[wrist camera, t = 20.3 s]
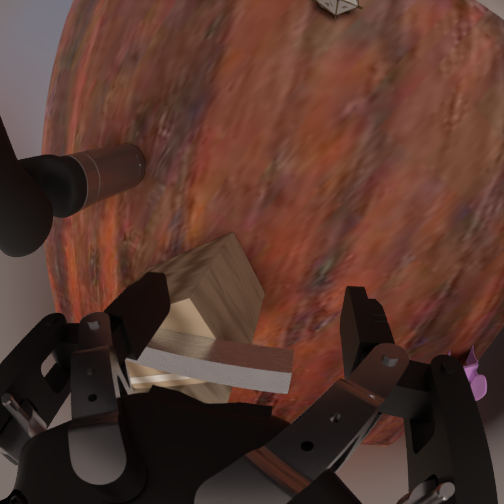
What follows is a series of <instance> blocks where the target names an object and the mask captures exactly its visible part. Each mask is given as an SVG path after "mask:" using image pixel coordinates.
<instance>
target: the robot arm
mask: <svg viewBox="0 0 504 504" xmlns="http://www.w3.org/2000/svg"><path fill="white" fill-rule="evenodd" d="M144 172H145V161H144V157H143V155H142V153H141V151H140V150H139V149H138V148H137V147H135V146H134V145H131V144H121V145H115V146H108V147H103V148H97V149H92V150H87V151H83V152H78V153H74V154H69V155H65V156H61V157H59V156H56V155H49V154H48V155H41V156H35V157H30V158H25V159H20V160H17V158H16V155H15V153H14V150H13V148H12V145H11V143H10V140H9V138H8V135H7V132H6V129H5V127H4V125H3V122H2V119H1V117H0V249H1V251H3V253H5V254H6V255H8V256H12V257H22V256H25V255H28V254H31V253H32V252H34V251H36V250H37V249H38V248H39V247H40V246H41V245H42V244H43V243H44V242H45V240H46V239H47V237H48V235H49V232H50V230H51V227H52V222H53V216H55V217H59V218H64V217H68V216H71V215H73V214H75V213H77V212H79V211H81V210H83V209H85V208H87V207H89V206H91V205H93V204H96V203H98V202H100V201H102V200H104V199H107V198H109V197H111V196H113V195H116V194H118V193H120V192H123V191H125V190H128V189H130V188H133V187H135V186H136V185H138V184H139V183H140V181H141V180H142V178H143V176H144ZM170 307H171V302H170V296H169V291H168V285H167V280H166V276H165V274H164V273H160V272H150V271H149V272H147V273H146V274H145V275H144V276H143V277H142V278H141V279H140V280H139V281H136V282H134V283H133V284H131V285H129V286H128V287H127V288H126V289H125V290H124V291H123V293H121V294H120V295H119V296H118V298H116V299H115V300H114V301H113V302H112V303H111V304H110V305H109V306H108V307H107V308H106V309H105V310H104V312H94V313H90V314H88V315H86V316H85V317H83V318H82V319H81V321H80V323H67V321H66V318H65V316H64V315H63V314H61V313H53V314H49V315H47V316H46V317H44V318H43V319H42V320H41V321H40V322H39V323H38V324H37V325H36V326H35V327H34V328H33V329H32V330H31V331H30V332H29V333H28V334H27V335H26V336H25V337H24V338H23V339H22V340H21V342H20V343H19V344H18V345H17V346H16V347H15V348H14V349H13V350H12V351H11V353H10V354H9V355H8V356H7V357H6V358H5V359H4V360H3V361H2V363H1V364H0V453H1V454H3V455H4V456H5V457H6V458H7V459H8V460H9V461H11V462H12V463H13V464H15V465H18V472H17V478H16V482H15V486H14V489H13V491H12V493H11V494H10V495H9V496H8V497H7V498H5V499H3V500H1V501H0V504H362V503H361V502H360V501H359V500H358V499H357V497H356V496H355V495H354V494H353V493H352V492H351V491H350V490H349V488H348V487H347V486H346V485H345V484H344V483H343V482H342V480H341V479H340V478H339V477H338V476H337V475H336V474H335V473H336V472H337V471H338V470H339V469H340V468H341V467H342V466H343V465H344V463H345V462H346V461H347V460H348V459H349V457H350V456H351V455H352V454H353V452H354V450H356V448H357V447H358V446H359V444H360V443H361V442H362V441H363V439H364V438H365V437H366V436H367V434H368V433H369V432H370V430H371V429H372V428H373V427H374V425H375V424H376V422H377V421H378V420H379V418H380V417H381V416H382V414H383V413H384V414H388V415H392V416H397V417H402V418H403V419H404V427H405V437H406V448H407V460H408V482H409V493H407V494H406V495H404V496H403V497H402V498H401V499H399V500H398V502H397V503H396V504H498V500H497V492H496V484H495V478H494V472H493V466H492V461H491V457H490V452H489V447H488V443H487V439H486V435H485V431H484V427H483V424H482V420H481V417H480V413H479V410H478V407H477V404H476V401H475V398H474V395H473V392H472V389H471V386H470V383H469V380H468V378H467V375H466V372H465V370H464V367H463V365H462V364H461V362H460V361H459V360H457V359H456V358H454V357H452V356H449V355H438V356H436V357H434V358H433V359H432V361H431V363H430V364H425V363H421V362H416V361H412V360H410V359H409V355H408V353H407V352H406V351H405V350H404V349H403V348H402V347H400V346H398V345H396V344H395V342H394V339H393V336H392V333H391V330H390V327H389V324H388V322H387V318H386V316H385V312H384V310H383V307H382V305H381V304H380V303H379V302H378V301H377V300H376V299H368V297H367V294H366V290H365V288H364V287H357V286H347V287H346V291H345V296H344V302H343V307H342V313H341V319H340V335H341V343H342V353H343V363H344V374H345V380H343V379H339V380H337V381H336V382H335V383H334V384H333V385H332V386H331V387H330V388H329V389H328V390H327V391H326V392H325V393H324V394H323V395H322V396H321V397H320V398H319V399H317V400H316V401H315V402H314V403H313V404H312V405H311V406H310V407H309V408H308V409H307V410H306V411H305V412H303V413H302V414H301V415H300V416H299V417H298V418H297V419H296V420H294V421H293V422H292V423H291V424H290V423H289V422H287V421H285V420H283V419H281V418H279V417H276V416H273V415H272V406H266V405H257V404H249V403H241V402H238V403H212V404H209V403H204V402H202V401H199V400H197V399H195V398H193V397H191V396H188V395H186V394H184V393H182V392H180V391H177V390H172V389H168V388H164V387H160V386H156V385H152V387H151V388H150V390H149V392H143V393H133V389H132V385H131V380H130V375H129V371H128V366H127V363H126V361H125V360H126V358H129V359H132V360H136V361H137V360H138V358H139V357H140V355H141V354H142V352H143V351H144V349H145V348H146V346H147V345H148V343H149V342H150V340H151V339H152V338H153V336H154V335H155V333H156V332H157V330H158V329H159V327H160V326H161V324H162V323H163V321H164V320H165V319H166V317H167V316H168V314H169V312H170ZM50 353H51V354H52V355H53V357H54V359H55V361H56V363H55V364H54V366H53V367H52V368H51V370H50V371H49V372H48V373H47V375H46V376H45V377H43V375H42V373H41V365H42V363H43V362H44V360H45V359H46V358H47V357H48V356H49V354H50ZM70 392H71V415H72V420H70V421H68V422H66V423H63V424H61V425H59V426H56V427H54V428H51V429H49V430H47V428H48V426H49V425H50V423H51V421H52V420H53V418H54V417H55V415H56V414H57V412H58V411H59V409H60V407H61V406H62V404H63V403H64V401H65V400H66V398H67V397H68V395H69V394H70Z"/></svg>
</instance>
